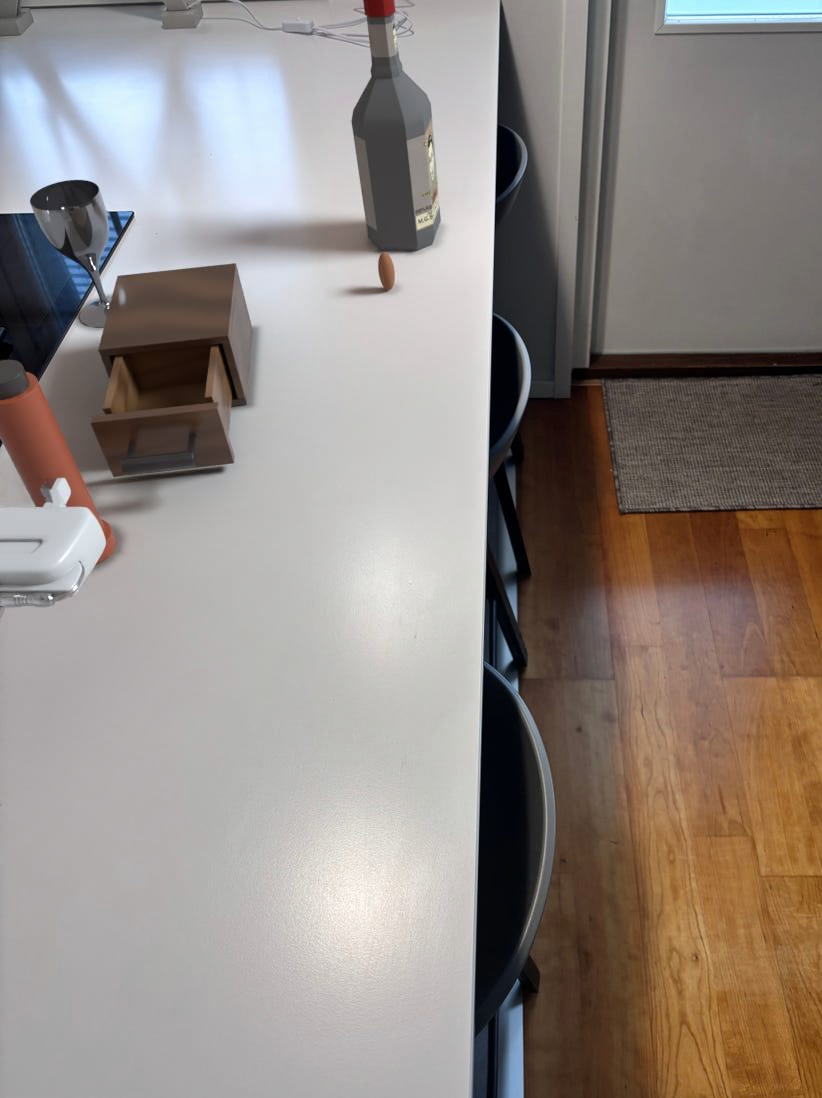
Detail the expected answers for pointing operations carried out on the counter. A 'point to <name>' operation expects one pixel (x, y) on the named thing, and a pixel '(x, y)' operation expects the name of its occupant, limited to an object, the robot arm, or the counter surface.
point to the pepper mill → (40, 443)
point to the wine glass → (77, 232)
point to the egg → (386, 271)
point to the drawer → (167, 411)
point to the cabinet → (181, 317)
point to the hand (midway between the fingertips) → (5, 484)
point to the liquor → (395, 145)
